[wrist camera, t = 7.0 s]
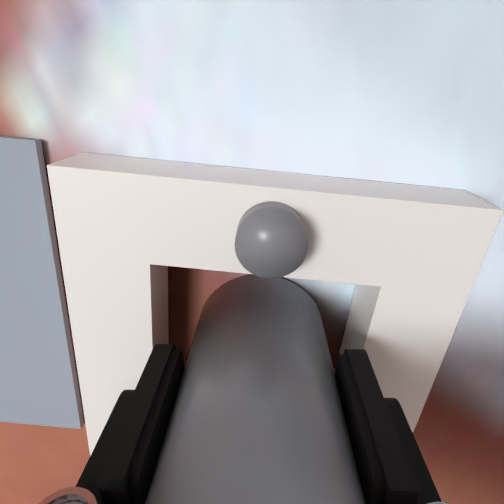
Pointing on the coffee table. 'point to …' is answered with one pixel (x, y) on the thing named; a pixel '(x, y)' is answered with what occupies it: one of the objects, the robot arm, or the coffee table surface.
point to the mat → (32, 298)
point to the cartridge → (257, 406)
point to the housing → (260, 260)
